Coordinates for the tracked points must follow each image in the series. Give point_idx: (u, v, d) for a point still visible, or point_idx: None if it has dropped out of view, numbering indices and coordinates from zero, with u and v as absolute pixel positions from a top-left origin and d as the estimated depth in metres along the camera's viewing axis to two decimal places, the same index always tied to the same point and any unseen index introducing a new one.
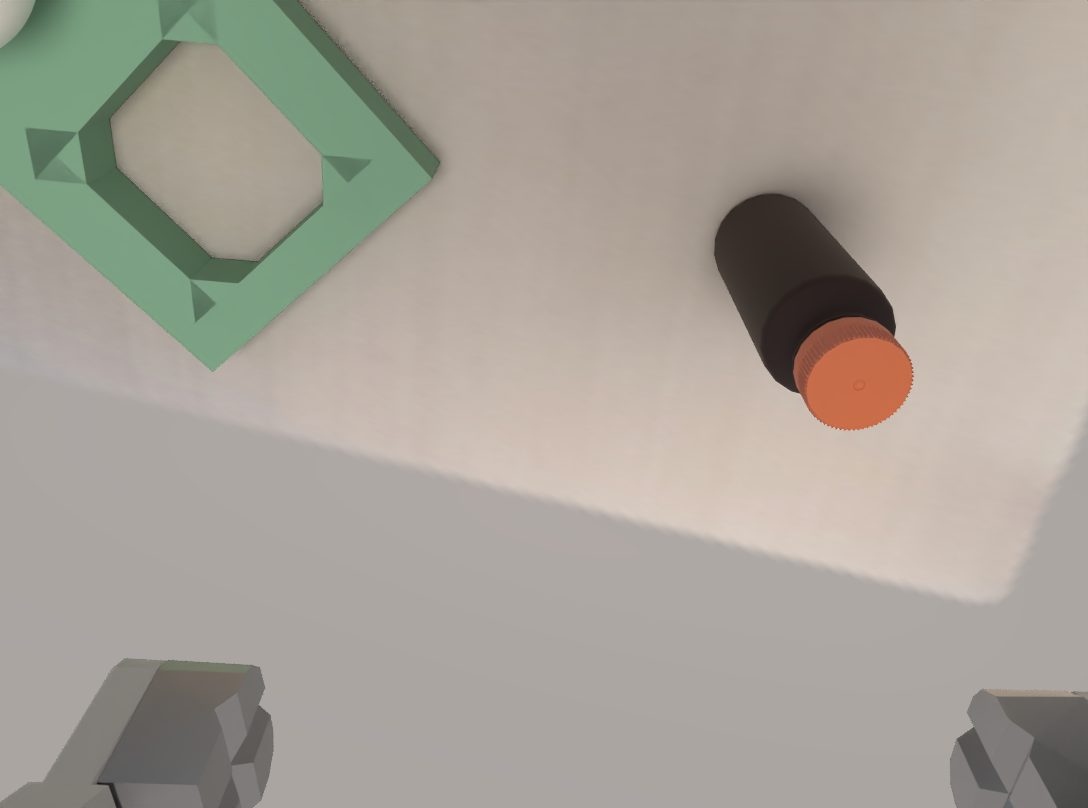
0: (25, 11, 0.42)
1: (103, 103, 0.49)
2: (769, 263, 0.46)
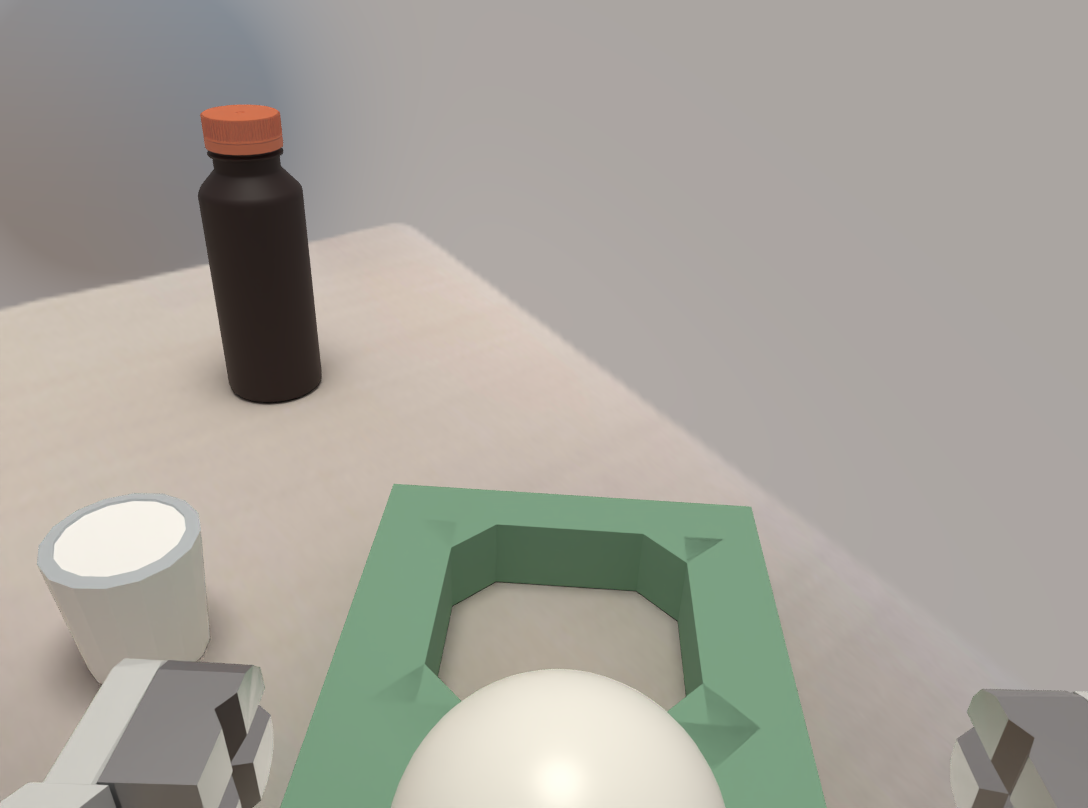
0: None
1: None
2: (245, 267, 0.58)
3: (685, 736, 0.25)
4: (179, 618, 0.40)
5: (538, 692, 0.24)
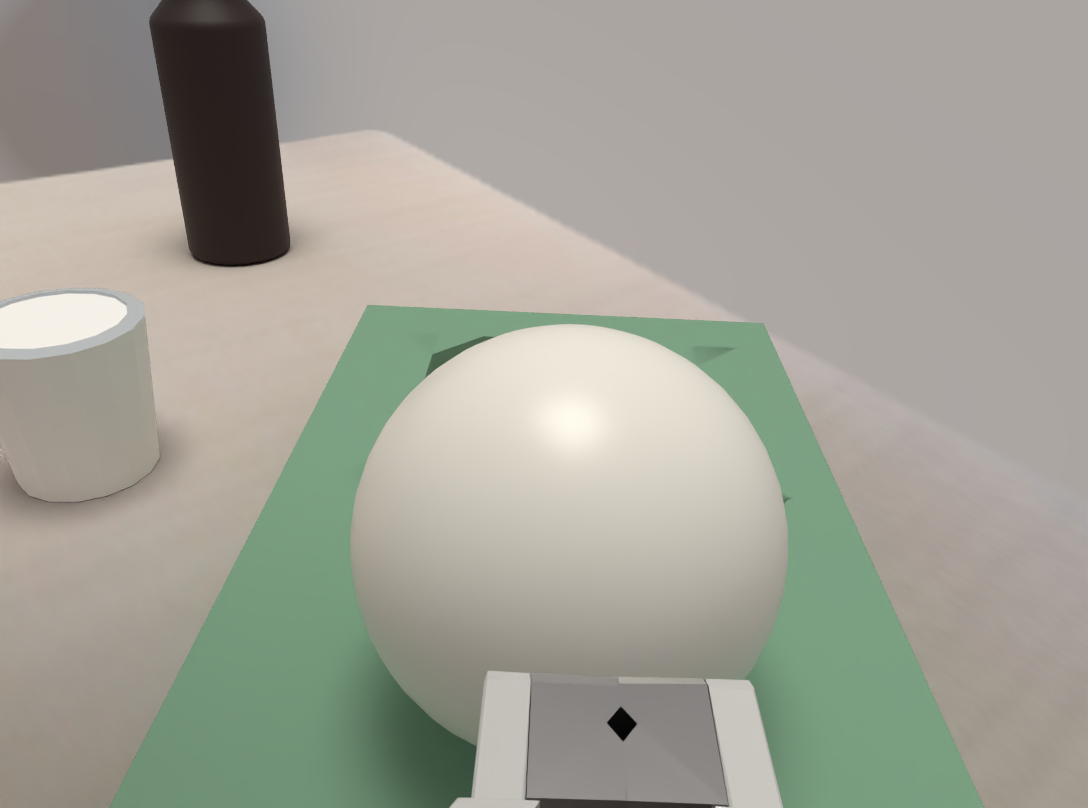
0: None
1: None
2: (202, 102, 0.53)
3: None
4: (121, 414, 0.35)
5: (541, 327, 0.19)
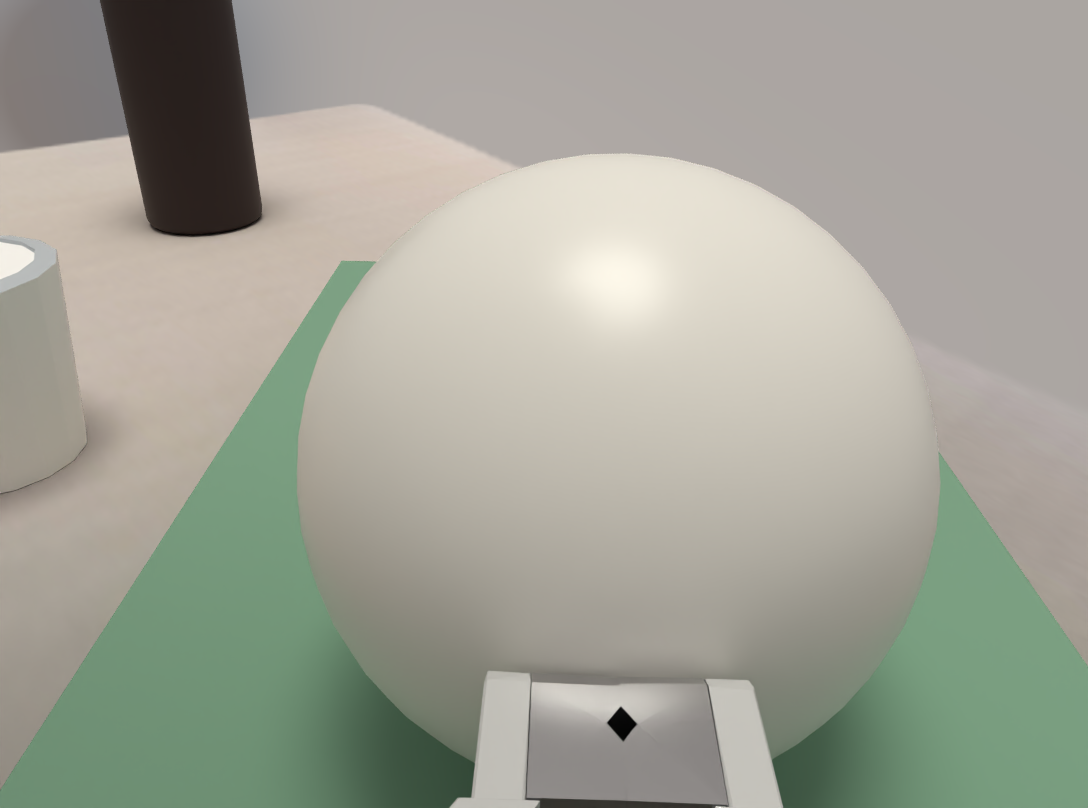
0: None
1: None
2: (152, 43, 0.46)
3: None
4: (26, 387, 0.28)
5: None
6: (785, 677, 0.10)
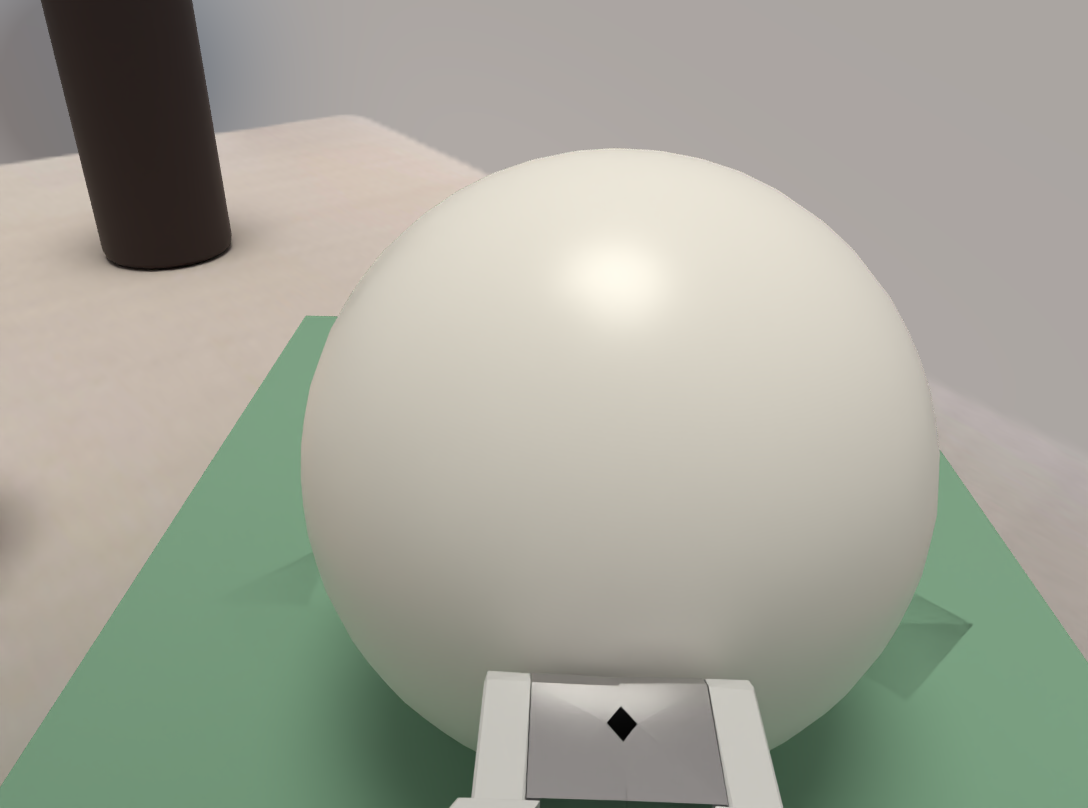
0: None
1: None
2: (101, 57, 0.41)
3: None
4: None
5: None
6: (785, 241, 0.11)
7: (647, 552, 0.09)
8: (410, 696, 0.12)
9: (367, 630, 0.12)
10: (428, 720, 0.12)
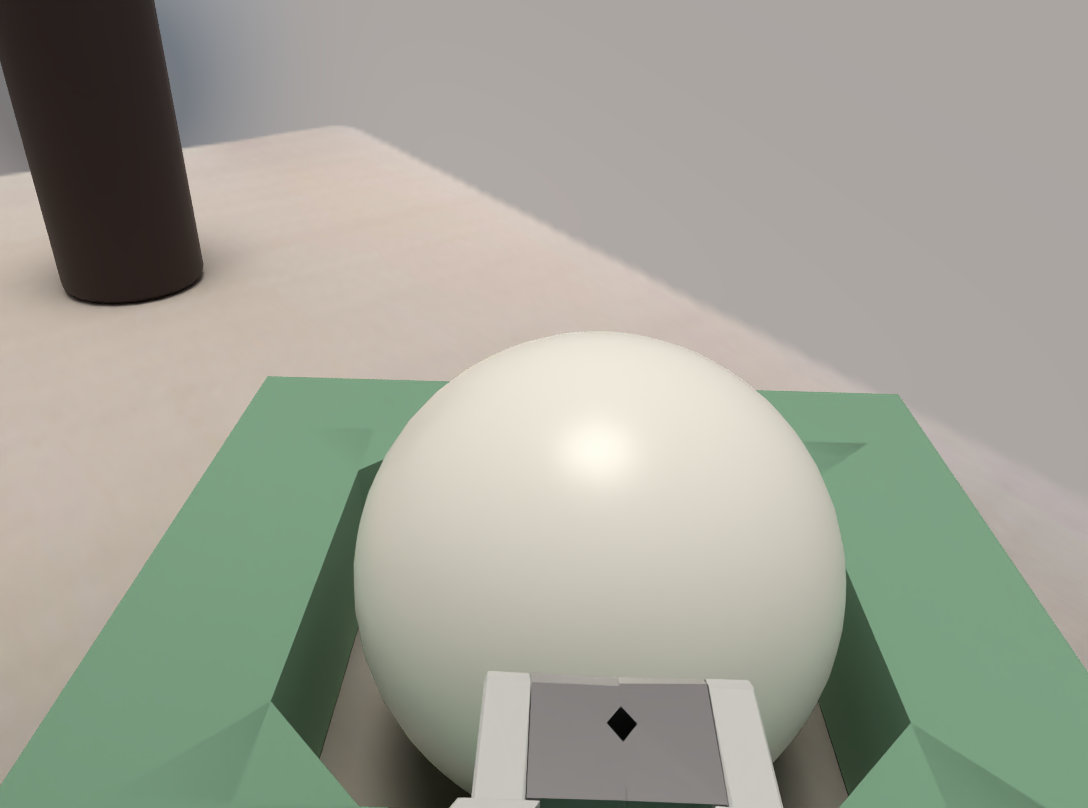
0: None
1: None
2: (52, 74, 0.37)
3: None
4: None
5: None
6: None
7: None
8: (450, 422, 0.16)
9: (428, 411, 0.17)
10: (454, 452, 0.15)
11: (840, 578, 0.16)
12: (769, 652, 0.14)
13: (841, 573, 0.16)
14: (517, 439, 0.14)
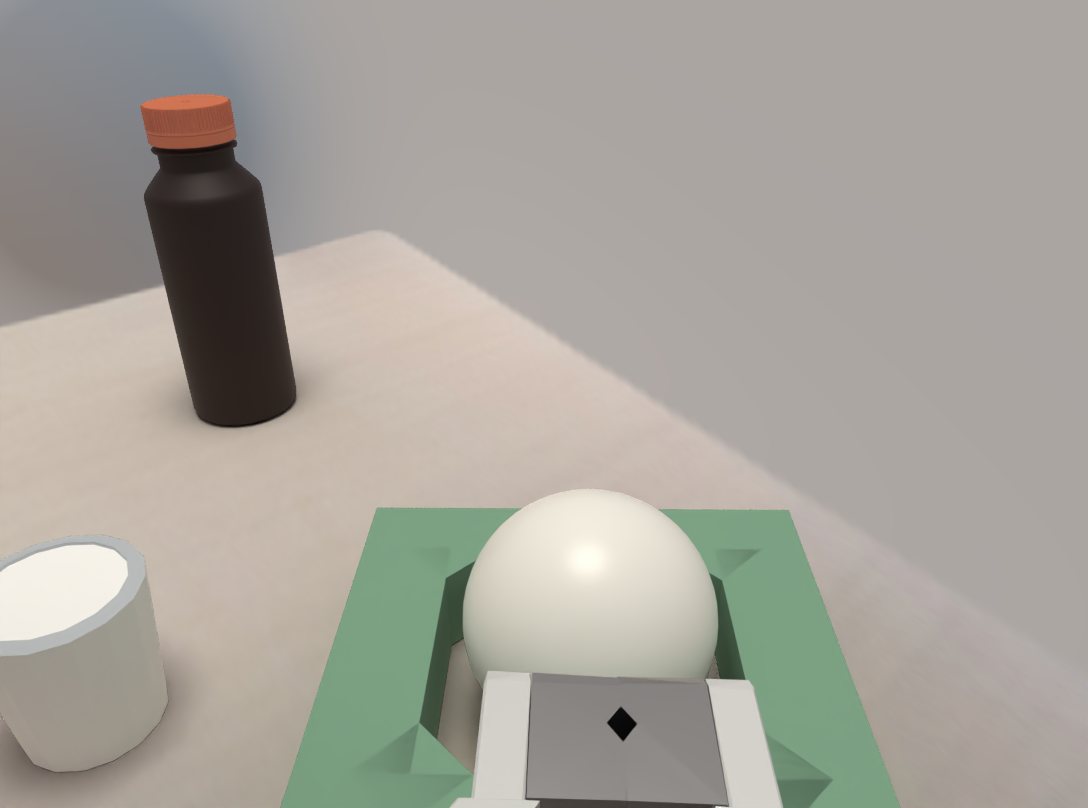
0: (548, 659, 0.29)
1: None
2: (200, 275, 0.52)
3: None
4: (125, 682, 0.33)
5: None
6: None
7: None
8: (515, 526, 0.32)
9: (503, 526, 0.34)
10: (519, 536, 0.32)
11: (709, 600, 0.32)
12: (669, 622, 0.30)
13: (709, 599, 0.32)
14: (548, 528, 0.31)
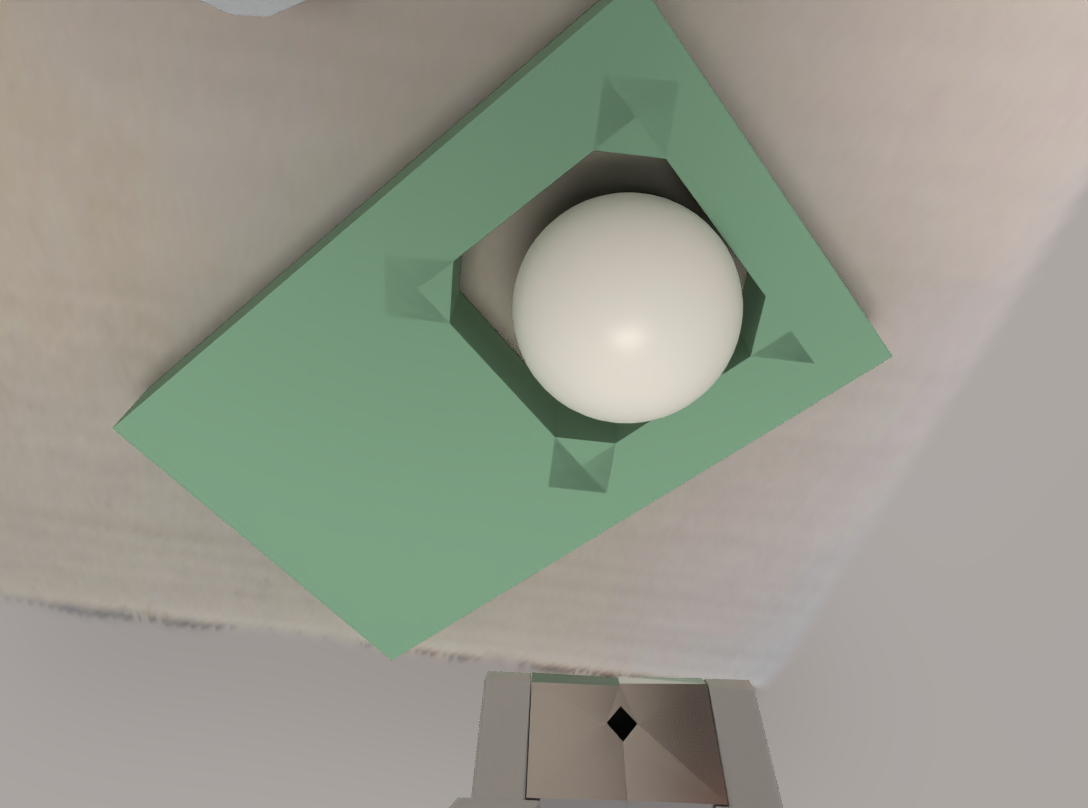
0: (529, 360, 0.37)
1: (523, 402, 0.42)
2: None
3: None
4: None
5: None
6: None
7: (713, 286, 0.34)
8: (603, 287, 0.33)
9: (610, 259, 0.33)
10: (590, 304, 0.33)
11: None
12: (610, 420, 0.37)
13: None
14: (606, 331, 0.33)
